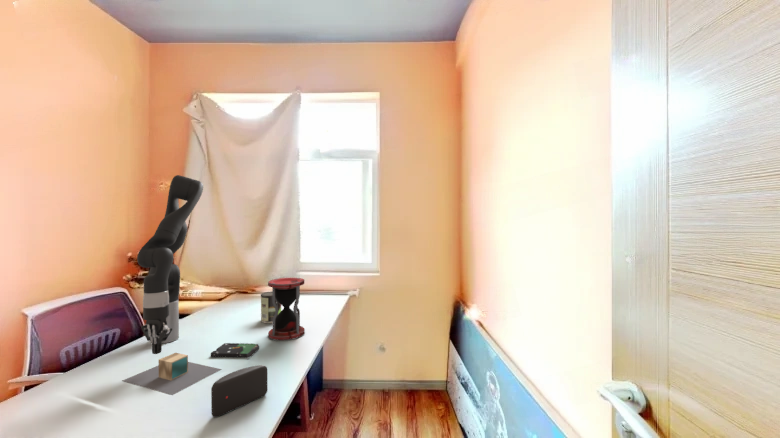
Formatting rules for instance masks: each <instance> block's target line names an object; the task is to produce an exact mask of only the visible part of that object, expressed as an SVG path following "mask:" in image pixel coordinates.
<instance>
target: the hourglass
mask: <svg viewBox="0 0 780 438" xmlns="http://www.w3.org/2000/svg"><path fill="white" fill-rule="evenodd" d="M303 285H305V278H300V277H279V278H274V279H270V280H269V281H268V282H267V286H268V287H269V288H272V290H271V292H272V303H273V306H274V307H275V315H274V316H273V323H272V328H271V329H270V330H269V331H268V335H267V336H268V338H269V339H270V340H273V341H290V340H295V339H298V338H300V337H302V336H303V335H305V330H306V329H305V327H304V326H301V323H300V322H301V315H300V314H301V312H300V311H301V310H300V309H299V307H298V306H299V302H300V301H299V300H300V297H301V295H300V291H301V289H300V287H301V286H303ZM275 299H276V302H277V305H276V303H275ZM293 303H294V304H293ZM280 304H281V307H283V309H281V312H280V313H279V314H278V311H279V309H280ZM292 305H293V307H292V308H293V309H291V308H290V306H292Z"/></svg>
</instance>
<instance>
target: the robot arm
mask: <svg viewBox="0 0 780 438" xmlns="http://www.w3.org/2000/svg"><path fill="white" fill-rule="evenodd" d="M168 189H169V191H168V194H167V195H168V196H167V202H166V207H165V214H164V217H163V219H162V220H161V221H160V222H159V224H158V226H157V228H156V230H155V232H154V234H153V235H152V236H151V237H150V238H149V239H148V240H147V242H146V243H145V244H144V245H143V246H142V247H141V248H140V249H139V251H138V253H137V257H136V258H137V259H136V261H137V264H138V265H139V266H140V267H142V268H146V269H147V268H148V269H149V271H148V275H146V276H145V277H144V278H143V297H142V318H143V320H145V324H144V325H142V326H141V327H140V328H141V331H142V333H143V335H144V337H145V339H146V341H148V342H150V344H151V352H152V354H153V355H158V354H161V353H162V344H167V343H172V342H174V341H177V340H178V339H179V338H180V336H179V334H180V332H179V331H180V323H179V322H180V321H179V319H180V318H179V317H180V310H179V309H180V308H179V296H180V292H181V291H180V289H181V288H180V287H181V286H180V284H181V271H180V267H179V266H178V265H177V264H175V263H174V258H175V256H174V254H175V253H177V251H178V250H179V249H180V248H181V247H183V245H184V243H185V241H186V237H187V233H188V225H187V222H186V221H187V220H188V218H189V216H190V215H191V214H192V212H193V210H194V208H195V207H196V205H197V204H198V202H199V201H200V200H201V199H200V198H201V196H202V194H203V192H204V184H203V182H202V181H200V180H196V179H193V178H191V177H187V176H183V175H180V174H179V175H178V174H177V175H174V176H173V178H172V179H171V182H170V185H169V188H168ZM179 200H181V201H182V200H183V201H186V202H185V203H184V204H183V205H182V206H181V207H180V203H179Z"/></svg>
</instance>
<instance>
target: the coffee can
mask: <svg viewBox="0 0 780 438" xmlns="http://www.w3.org/2000/svg"><path fill="white" fill-rule="evenodd" d="M275 303H276V305H277V302H276V299H275ZM281 311H282V305H281V304H280V309H279V311H278V314H279V313H280V312H281ZM274 315H275V307H274V306H273V303H272V291H266V292H262V293H260V321H261V323H263V324H264V323H265V324H273V316H274Z"/></svg>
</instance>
